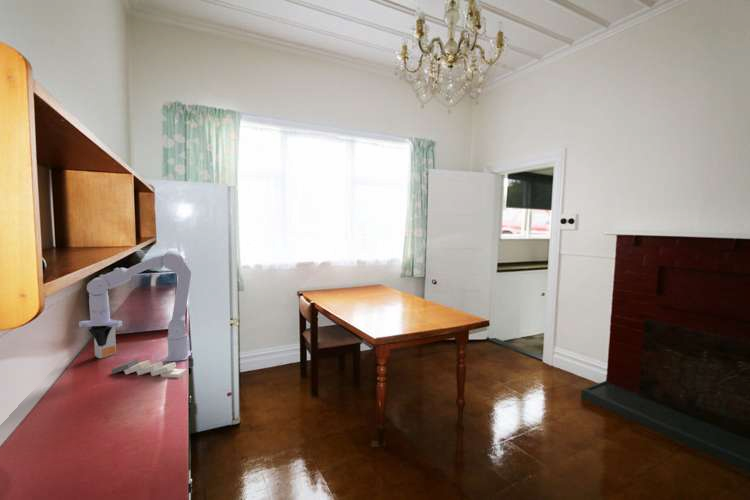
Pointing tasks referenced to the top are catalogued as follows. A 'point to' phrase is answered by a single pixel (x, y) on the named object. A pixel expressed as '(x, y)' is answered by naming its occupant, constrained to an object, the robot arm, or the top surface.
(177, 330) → the robot arm
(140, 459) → the top surface
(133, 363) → the charcoal domino
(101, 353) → the skincare box
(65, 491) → the top surface
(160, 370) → the ivory domino
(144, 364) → the ivory domino
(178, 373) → the ivory domino
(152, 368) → the ivory domino
